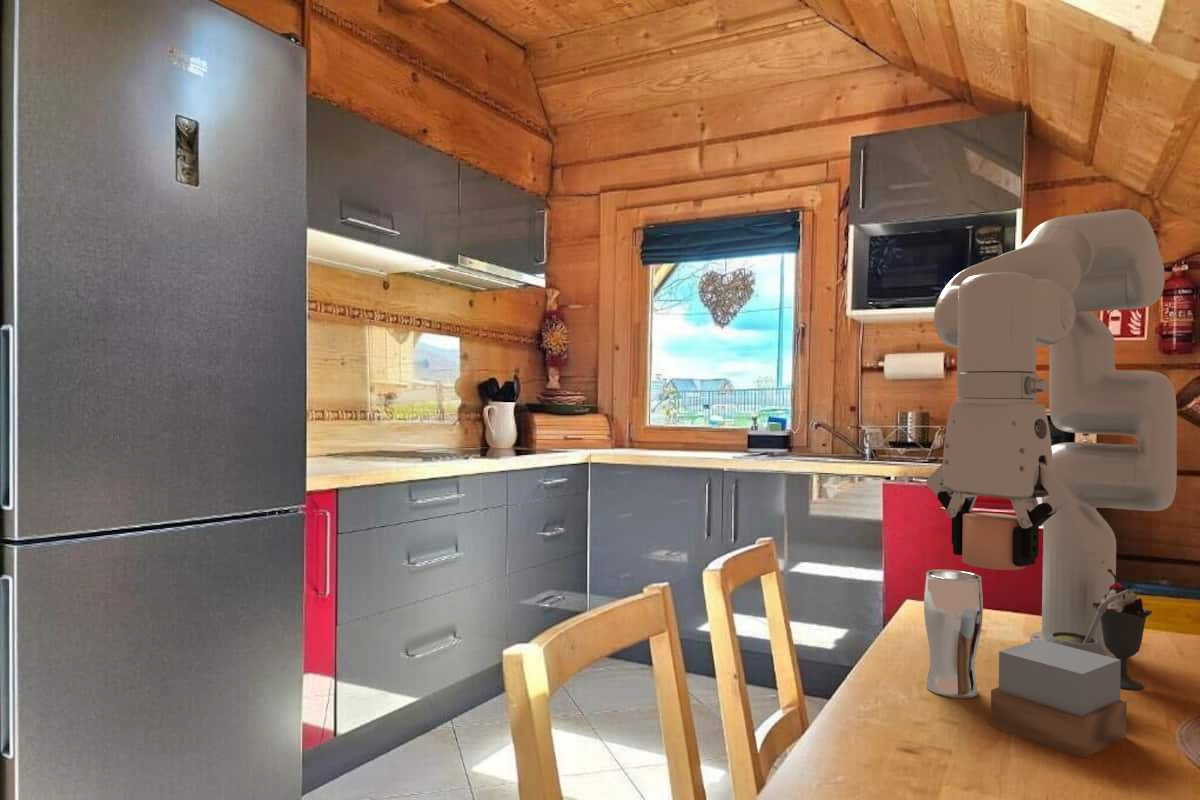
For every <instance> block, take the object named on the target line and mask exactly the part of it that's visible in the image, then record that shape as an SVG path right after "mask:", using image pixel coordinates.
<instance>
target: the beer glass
mask: <svg viewBox="0 0 1200 800" xmlns="http://www.w3.org/2000/svg"><path fill="white" fill-rule="evenodd" d="M925 574H926V575H925V577H926V578H925V586H924V594H923V595H924V598H923V615H924V623H925V625H924V626H925V631H926V637H927V642H928V643H927V644H928V648H929V659H930V660H929V669H928V675H927V678H926V685H925V686H926V688H927V689H928V690H929V691H930V692H932V693H934V694H936V695H939V696H942V697H946V698H951V699H958V700H959V699H963V700H964V699H966V700H967V699H973V698H975V697H977V696H978V693H979V692H978V691H979V690H978V684H977V683H978V682H977V678H976V672H975V671H976V668H975V667H976V656H977V651H978V647H979V646H978V645H979V641H980V637H981V632H982V625H983V614H984V601H983V599H984V598H983V587H982V585H983V584H982V576H981V575H979V574H976V573H973V572H969V571H963V570H956V569H939V568H938V569H930V570H927V571H926V573H925Z"/></svg>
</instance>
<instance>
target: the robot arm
mask: <svg viewBox="0 0 1200 800" xmlns="http://www.w3.org/2000/svg"><path fill="white" fill-rule="evenodd" d="M1160 251H1161V250H1160V248H1159V244H1158V241H1157V238H1156V234H1155V232H1154V229H1153V228H1152V225H1151V224H1150V222H1149V221H1148V219H1147V218H1146V217H1145V216H1144V215H1142V214H1141V213H1140V212H1138V211H1137V210H1135V209H1128V208H1127V209H1126V208H1125V209H1114V210H1113V209H1112V210H1106V211H1105V210H1104V211H1098V212H1089V213H1080V214H1071V215H1065V216H1059V217H1055V218H1054V217H1053V218H1052V219H1048V220H1046V221H1044V222H1043V223H1041V224H1039V225H1038V226H1036V227H1035V228H1034V229H1033V230H1032V232H1030V233H1029V234H1028V236H1027V238H1026V239H1025V240H1024V241H1023V243H1022V244H1021V245H1020V246H1019V247H1018V248H1017V249H1014V250H1011V251H1008V252H1005V253H1003V254H1001V255H1000V254H999V255H997V256H995V257H993V258H990V259H988V260H985V261H982V262H979V263H977V264H974V265H971V266H969V267H967V268H965V269H963V270H961V271H960V272H958V273H957V274H956V275H954V276H953V278H951V280H949V281H948V283H947V284H946V285H945V287H944V288H943V289H942V290H941V292H940V294H939V296H938V298H937V301H936V303H935V307H934V311H933V312H934V313H933V324H934V329H935V332H936V335H937V336H938V338H939V339H940V340H941V342H942V343H943V344H945V345H946V346H948V347H951V348H955V349H957V356H956V357H957V363H956V364H957V365H956V366H957V367H956V368H957V369H956V372H957V375H956V377H957V378H956V402H952V403H951V406H950V410H949V413H948V417H947V423H946V429H945V435H944V443H943V444H944V445H943V453H942V454H943V455H942V464H940V465H939V466H938V468H937V469H936V470H935V471H934V472H932V474H930V476H929V477H927V479H926V485H927V486H928V487H929V489H930V490H931V491H932V493H933V494H935V496H937V500H938V501H939V503H940V504H941V505H942V506H943V507H944V508H945V510H946V515H947V516H948V517H949V518H950V519H951V545H952V553H953V555H955V556H962V534H963V514H966V513H972V511H973V509H974V508H973V507H974V506H975V502H976V500H977V498H978V496H979V497H989V498H996V499H997V498H998V499H1004V500H1005V499H1006V500H1010V502H1011V505H1012V508H1013V510H1014V513H1015V516H1017V519H1018V522H1019V527H1015V528H1014V529H1013V564H1014V565H1015V566H1019V567H1023V566H1025V567H1027V566H1032V565H1035V564H1036V559H1037V558H1038V557H1039V551H1040V550H1039V544H1040V543H1039V542H1040V538H1039V537H1040V536H1039V535H1040V533H1039V532H1040V527H1043V528H1042V529H1043V531H1042V532H1043V533H1042V535H1043V536H1042V537H1043V538H1042V539H1043V541H1042V587H1041V588H1042V593H1041V594H1042V595H1041V597H1042V598H1041V601H1042V602H1041V603H1042V604H1041V630H1040V631H1036V632H1033V633H1032V634H1030V636H1029V637H1030V641H1029V642H1031V641H1035V640H1038V639H1040V640H1044V641H1045V640H1046V638H1047V637H1048V636H1049V635H1050V634H1051V633H1054V632H1071V633H1078V634H1083V635H1086V636H1087V634H1088V632H1089V630H1090V628H1091V625H1092V623H1093V621H1094V619H1095V617H1096V614H1097V612H1098V610H1097V609H1096V608H1095V607H1093V603H1101V602H1102V599H1103V597H1104V596H1105V595H1106V594H1107V593H1108V592H1109V591H1110V589H1109V587H1110V586H1111V585H1113V584H1114V583H1115V579H1114V576H1113V575H1112V574H1113V573H1114V574H1115V576H1116V577H1117V575H1116V573H1117V569H1116V568H1117V539H1116V536H1115V532H1114V530H1113V529H1112V527H1111V526H1110V524H1109V523H1108V522H1107V520H1106V519H1104V518H1103V516H1102V515H1101V514H1100V512H1099V511H1098V510H1097V509H1099V508H1102V509H1103V508H1104V509H1105V508H1106V509H1108V508H1109V509H1121V510H1129V511H1130V510H1131V511H1132V510H1133V511H1146V512H1158V511H1163V510H1166V509H1168V508H1169V507H1170V506H1171V505H1172V503H1173V501H1174V499H1175V496H1176V492H1177V481H1178V480H1177V479H1178V478H1177V477H1178V476H1177V475H1178V470H1177V469H1178V468H1177V467H1178V465H1177V464H1178V462H1177V461H1178V458H1177V457H1178V456H1177V455H1178V454H1177V452H1178V447H1177V445H1178V439H1177V438H1178V436H1177V435H1178V434H1177V433H1178V425H1177V424H1178V411H1177V408H1178V407H1177V398H1176V397H1177V396H1176V391H1175V388H1174V385H1173V382H1172V381H1171V380H1170V379H1169V377H1168V376H1166V375H1165V374H1163V373H1160V372H1157V371H1151V370H1117V369H1116V365H1115V364H1116V363H1115V350H1116V349H1115V347H1116V346H1115V345H1116V341H1115V337H1114V334H1113V333H1112V331H1111V330H1110V329H1109V328H1108V326H1107V325H1106V323H1105V322H1103V321H1102V320H1101V319H1100V318H1099V317H1098V316H1097V315H1096V314H1095V312H1102V311H1103V312H1105V311H1106V312H1107V311H1122V310H1123V311H1124V310H1138V309H1139V310H1140V309H1146V308H1148V307H1151V306H1153V305H1154V304H1156V303H1157V302H1158V301H1159V300H1160V298H1161V296H1162V294H1163V291H1164V288H1165V283H1166V282H1165V280H1166V277H1165V275H1166V274H1165V267H1164V262H1163V258H1162V255H1161V252H1160ZM1045 346H1046V347H1047V346H1048V351H1049V355H1048V356H1049V366H1048V369H1049V370H1048V371H1049V372H1048V373H1049V375H1048V380H1049V381H1048V380H1047V379H1046V378H1045V379H1044V378H1043V379H1042V378H1039V377H1038V376H1039V375H1038V373H1036V372H1037V347H1045ZM1048 390H1049V391H1048ZM1047 391H1048V407H1049V408H1048V409H1049V415H1050V416H1049V417H1050V420H1051V422H1052V424H1053V426H1054V427H1055V428H1056V429H1058V430H1060V431H1062V432H1066V433H1075V434H1082V435H1083V434H1085V435H1087V434H1088V435H1107V436H1109V435H1110V436H1129V437H1130V436H1131V437H1133V438H1135V439H1136V440H1137V442H1138V444H1134V445H1133V444H1118V443H1117V444H1114V443H1107V442H1106V443H1105V442H1104V443H1103V442H1101V443H1100V442H1099V443H1098V442H1082V441H1081V442H1079V441H1078V442H1077V441H1076V442H1074V441H1072V442H1070V441H1069V442H1061V443H1060V442H1059V443H1056V444H1055V443H1054V444H1053V445H1052V437H1051V432H1050V425H1049V420H1048V415H1047V410H1046V407H1045V404H1043V403H1042V404H1041V403H1039V404H1038V403H1036V399H1038V394H1039V393H1047ZM1039 498H1041V503H1039V501H1038V499H1039ZM1107 569H1112V572H1113V573H1112V574H1111V573H1110V572H1108V571H1107ZM1092 638H1094V639H1096V640H1097V641H1098V642H1099V644H1100V645H1101V647H1102V648H1103V650H1104V651H1105V656H1108V657H1112V658H1116V657H1115V655H1114V654H1112V653H1111V652H1110V651H1109V650H1108V649H1107V647H1106V646H1105V644H1104V639H1103V634H1102V626H1101V619H1100V621H1099V623H1098V625H1097V627H1096V630H1095V632H1094V634H1093V636H1092ZM1116 659H1117V658H1116Z"/></svg>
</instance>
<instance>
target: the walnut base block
mask: <svg viewBox="0 0 1200 800" xmlns="http://www.w3.org/2000/svg"><path fill="white" fill-rule="evenodd" d="M1127 704H1128V703H1127V700H1124V699H1121V698H1120V700H1118V701H1116V702H1114V703H1111V704H1109V705H1107V706H1104V707H1102V708H1100V709H1098V710H1095V711H1093V712H1091V713H1089V714H1086V715H1084V716H1079V715H1075V714H1072V713H1069V712H1066V711H1063V710H1060V709H1056V708H1053V707H1050V706H1047V705H1044V704H1041V703H1037V702H1034V701H1031V700H1028V699H1025V698H1022V697H1018V696H1015V695H1012V694H1009V693H1006V692H1003V691H1000V690H999V686H998V687H996V688H993V689H991V690H990V726H991V727H994V728H997V729H1000V730H1003V731H1005V732H1007V733H1010V734H1013V735H1016V736H1018V737H1022V738H1024V739H1027V740H1030V741H1033V742H1036V743H1037V744H1041V745H1044V746H1047V747H1050V748H1052V749H1055V750H1058V751H1060V752H1064V753H1066V754H1069V755H1071V756H1073V757H1077V758H1080V759H1085V758H1087V757H1089V756H1091V755H1093V754H1096V753H1097V752H1099V751H1101V750H1104V749H1105V748H1108V747H1109V746H1111V745H1113V744H1116V743H1118V742H1119V741H1122V740H1124V739H1126V738H1127Z"/></svg>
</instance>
